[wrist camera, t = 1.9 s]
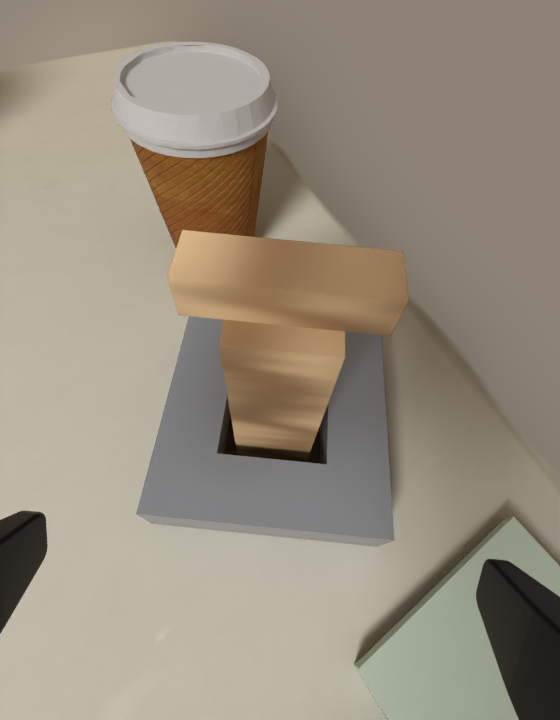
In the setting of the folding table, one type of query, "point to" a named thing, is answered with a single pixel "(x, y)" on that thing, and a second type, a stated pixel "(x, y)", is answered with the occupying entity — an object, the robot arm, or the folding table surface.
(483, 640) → the rubber pad
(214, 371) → the gray square ring
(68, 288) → the folding table surface
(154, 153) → the disposable coffee cup
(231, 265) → the t key
